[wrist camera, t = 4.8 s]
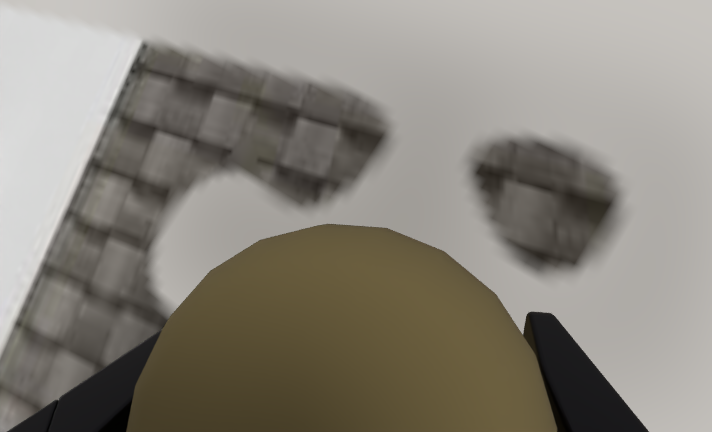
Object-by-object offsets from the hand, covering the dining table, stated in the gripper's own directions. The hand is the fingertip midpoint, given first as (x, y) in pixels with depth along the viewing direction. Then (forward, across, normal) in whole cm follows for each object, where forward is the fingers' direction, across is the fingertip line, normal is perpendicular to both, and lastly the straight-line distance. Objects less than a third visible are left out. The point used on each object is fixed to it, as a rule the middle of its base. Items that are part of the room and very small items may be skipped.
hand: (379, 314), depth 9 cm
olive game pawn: (+4, 0, +6) cm, 7 cm away
